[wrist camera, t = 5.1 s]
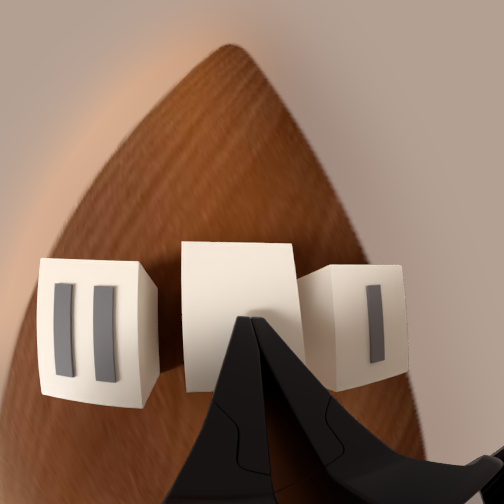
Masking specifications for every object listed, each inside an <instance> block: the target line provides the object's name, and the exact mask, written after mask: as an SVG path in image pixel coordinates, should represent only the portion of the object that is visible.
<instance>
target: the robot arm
mask: <svg viewBox="0 0 504 504" xmlns="http://www.w3.org/2000/svg"><path fill="white" fill-rule="evenodd" d="M330 395H331V394H330V392H329V391H328V390H327V389H326V388H325V387H324V386H323V385H322V384H321V382H320V381H319V380H318V379H317V378H316V377H315V376H314V375H313V374H312V372H311V371H310V370H309V369H308V368H307V367H306V366H305V365H304V363H303V362H302V361H301V360H300V359H299V358H298V357H297V355H296V354H295V353H294V352H293V351H292V350H291V349H290V347H289V346H288V345H287V344H286V343H285V342H284V340H283V339H282V338H281V337H280V336H279V335H278V334H277V332H276V331H275V330H274V329H273V328H272V327H271V325H270V324H269V323H268V322H267V321H266V319H265V318H263V317H249V316H237V317H236V320H235V324H234V327H233V330H232V333H231V337H230V340H229V343H228V347H227V350H226V353H225V356H224V360H223V363H222V366H221V369H220V373H219V376H218V379H217V383H216V386H215V389H214V392H213V396H212V399H211V402H210V405H209V408H208V411H207V414H206V417H205V420H204V423H203V426H202V428H201V430H200V433H199V435H198V437H197V439H196V441H195V443H194V445H193V447H192V449H191V451H190V453H189V455H188V457H187V459H186V461H185V463H184V465H183V467H182V468H181V470H180V472H179V474H178V476H177V478H176V480H175V482H174V483H173V485H172V487H171V489H170V490H169V492H168V494H167V495H166V497H165V498H164V500H163V501H162V503H161V504H504V446H503V447H502V448H500V449H499V450H497V451H496V452H495V453H493V454H492V455H490V456H488V455H483V456H481V457H479V458H477V459H475V460H474V461H472V462H470V463H469V464H467V465H465V466H459V465H450V464H443V463H436V462H430V461H425V460H419V459H414V458H410V457H406V456H403V455H401V454H399V453H397V452H395V451H394V450H392V449H391V448H389V447H388V446H387V445H386V444H384V443H383V442H382V441H381V440H379V439H378V438H377V437H376V436H375V435H373V434H372V433H371V432H370V431H369V430H367V429H366V428H365V427H364V426H363V425H362V424H360V423H359V422H358V421H357V420H356V419H355V418H354V417H353V416H352V415H351V414H350V413H349V412H348V411H347V410H346V409H345V408H344V407H343V406H342V405H341V404H340V403H339V402H338V401H337V400H336V399H335V398H334V397H333V396H332V395H331V396H330Z"/></svg>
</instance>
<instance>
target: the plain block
mask: <svg viewBox="0 0 504 504" xmlns="http://www.w3.org/2000/svg"><path fill="white" fill-rule="evenodd" d="M181 287H182V328H183V350H184V366H185V380H186V392H211V391H214V389H215V386H216V383H217V379H218V376H219V373H220V369H221V366H222V363H223V360H224V356H225V353H226V350H227V347H228V343H229V340H230V337H231V333H232V330H233V327H234V324H235V320H236V317H237V316H249V317H263V318H265V319H266V321H267V322H268V323H269V324H270V325H271V327H272V328H273V329H274V330H275V331H276V332H277V334H278V335H279V336H280V337H281V338H282V339H283V340H284V342H285V343H286V344H287V345H288V346H289V347H290V349H291V350H292V351H293V352H294V353H295V354H296V355H297V357H298V358H299V359H300V360H301V361H302V362H303V363H304V365H305V366H306V360H305V350H304V340H303V330H302V321H301V312H300V304H299V295H298V287H297V279H296V272H295V264H294V257H293V249H292V244H285V243H237V242H182V258H181Z"/></svg>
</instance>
